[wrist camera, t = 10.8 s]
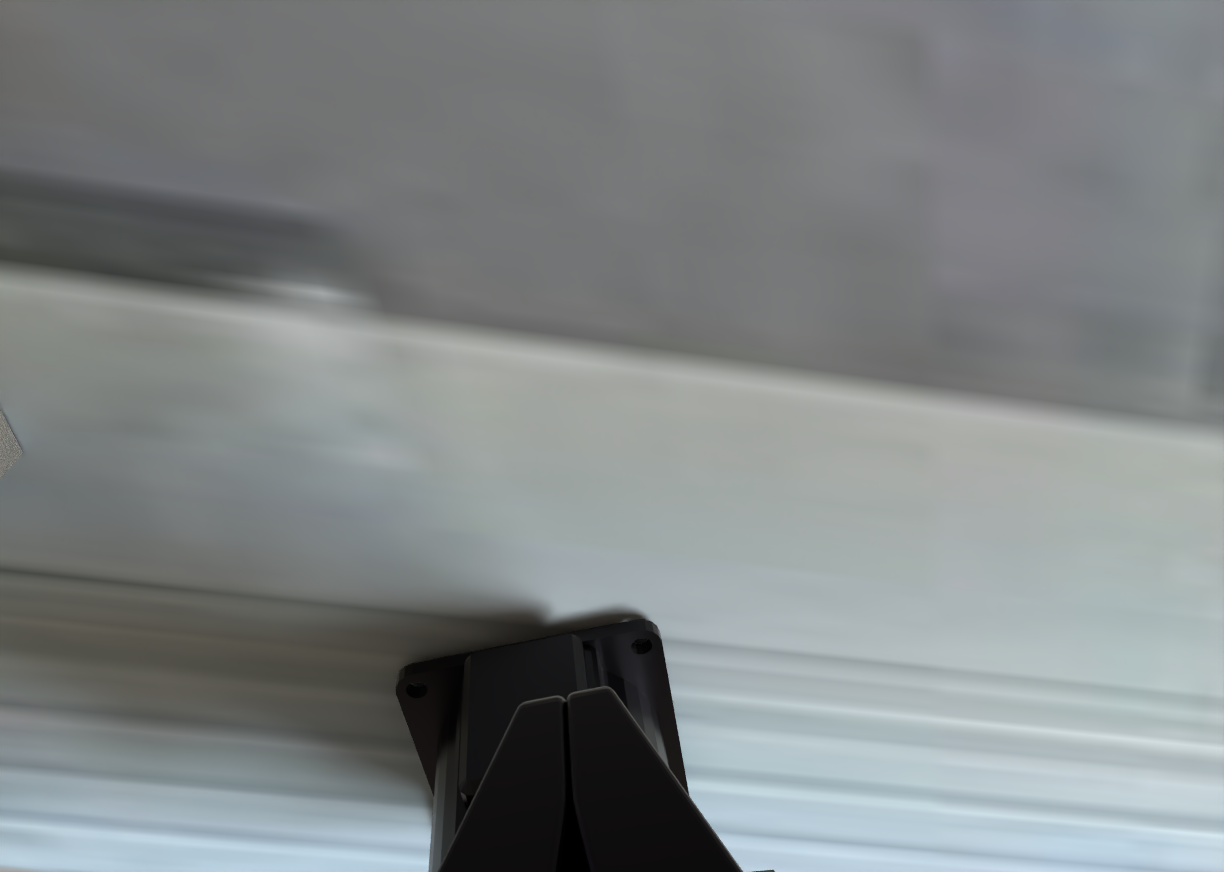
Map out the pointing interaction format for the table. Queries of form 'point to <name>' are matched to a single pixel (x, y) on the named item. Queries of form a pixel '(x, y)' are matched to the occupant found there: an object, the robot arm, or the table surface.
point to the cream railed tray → (7, 446)
